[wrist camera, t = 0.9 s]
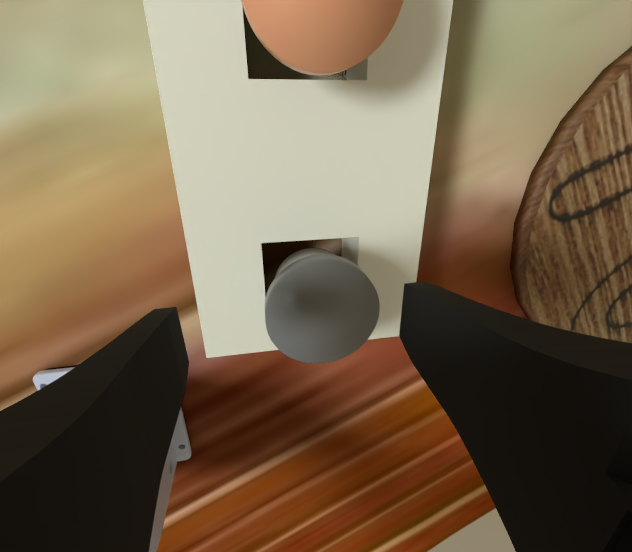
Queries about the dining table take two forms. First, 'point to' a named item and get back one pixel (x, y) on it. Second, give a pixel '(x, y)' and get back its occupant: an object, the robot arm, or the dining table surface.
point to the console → (295, 158)
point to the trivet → (581, 216)
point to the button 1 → (321, 31)
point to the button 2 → (320, 307)
